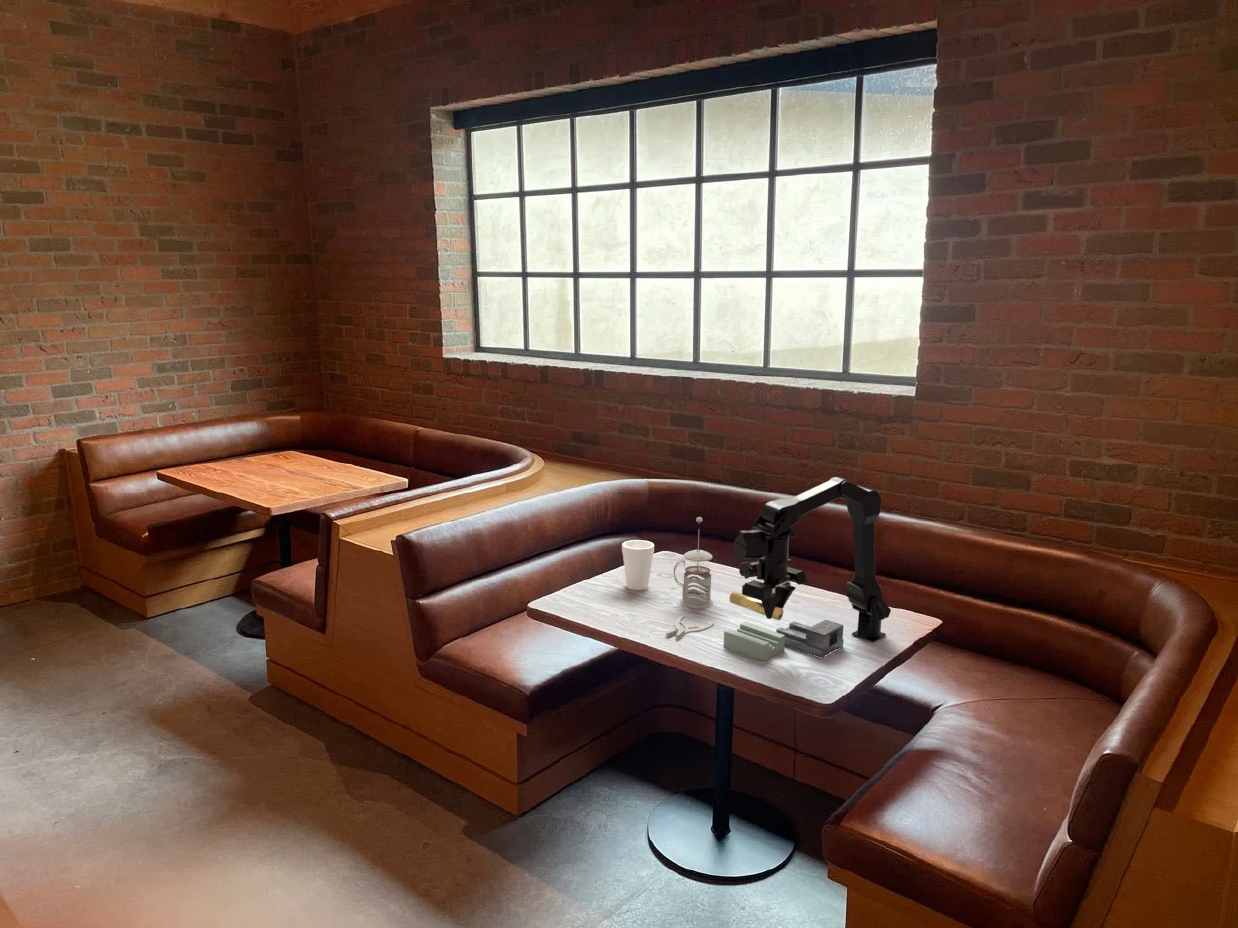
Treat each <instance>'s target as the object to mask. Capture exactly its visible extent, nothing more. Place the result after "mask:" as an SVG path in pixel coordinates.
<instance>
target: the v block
mask: <svg viewBox="0 0 1238 928" xmlns="http://www.w3.org/2000/svg"><path fill="white" fill-rule="evenodd" d="M739 625H740V626H739V628H737V629H736V630H735V629H731V628H728V629H726V630H724V631H723V647H725V648H727V649H730V650H732V651H735V652H738V653H741V654H744V655H746V656H749V657H752V658H754V659H757V660H760V661H763V662H764V661H766V660H768V659H770V658H773V657H774V656H776V655H778V654H780V653H782V652H785V646H784V645H785V635H783V634H780V633H777V632H776V631H773V630H770V629H768V628H765V627H762V626H759V625H756V624H753V623H749V622H747V621H744V622H742V623H740V624H739Z"/></svg>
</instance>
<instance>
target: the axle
mask: <svg viewBox="0 0 1238 928" xmlns="http://www.w3.org/2000/svg"><path fill="white" fill-rule="evenodd" d="M729 603H731V604H734V605H736V606H739V607H742V608H744V609H747V610H750V611H751V612H755V613H757V614H760V615H762V616H765V617H766V614H765V611H764V608H763V605H762V602H761V600H758V599H755V598H752V597H749V596H745V595H742V592H741V593H740V592H738V591H735V590H734V591H731V593H730V594H729ZM783 616H784V608H783V609H782V608H779V607H777V606H775V609H774V612H773V615H772V618H771V619H772V620H773V619H774V620H776V621H780V620H782V618H783Z"/></svg>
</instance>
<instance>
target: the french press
mask: <svg viewBox="0 0 1238 928" xmlns="http://www.w3.org/2000/svg"><path fill="white" fill-rule="evenodd" d="M695 519H696V520H695V521H696V523H697V522H698V523H702V522H703V518H702V517H701V516H698V517H696V518H695ZM697 536H698V537H697V538H698V539H697V549H694V550H693V549H692V550H689V551H687V552H686V553H683V558H684V559H681V560H679V561H677V562H676V563H675V565H674V568H673V577H674V578H673V579H674V581H675V583H676V584H677V585H679V586H680V587H682V597H681V598H680V599H679V604H680V605H681V606H683V607H685V608H690V609H697V610H699V609H706V608H711V607H713V606H714V603H715V602H714V601H713V599H712V598H711V593H712V592H711V591H712V590H711V588H712V574H711V573H710V572H711V569H710V568H709V567H706V566H703V565H699V562H708V561H711V560H712V559H713V555H712V554H711V553H710V552H708V551H706V550H702V549H699V547H700V545H699V544H700V530H698V535H697ZM685 560H688V561H691V562H697V564H696V565H689V566H686V567H685V565H686V562H685ZM681 563H683V566H684V567H685V569H684V571H685V572H684V573H683V583H682V582H681V581H678V579H677V577H676V569H677V567H678V566H679V565H681ZM691 575H692V576H691ZM700 577H701V578H700ZM692 583H693V584H692ZM690 588H691V589H690Z"/></svg>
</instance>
